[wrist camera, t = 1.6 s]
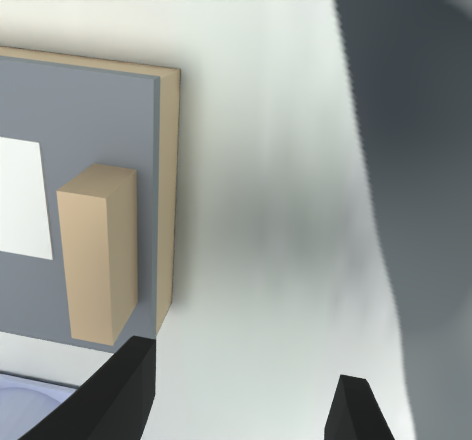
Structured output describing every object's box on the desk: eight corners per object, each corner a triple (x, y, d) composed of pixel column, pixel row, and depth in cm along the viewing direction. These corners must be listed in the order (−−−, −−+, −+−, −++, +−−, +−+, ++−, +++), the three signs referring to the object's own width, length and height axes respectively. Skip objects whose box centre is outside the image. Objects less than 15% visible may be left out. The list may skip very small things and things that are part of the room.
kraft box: (171, 302, 23) (153, 341, 20) (-2, 271, 24) (-41, 304, 21) (180, 69, 17) (157, 80, 15) (-46, 39, 18) (-107, 45, 16)
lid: (155, 349, 20) (129, 408, 17) (-49, 310, 21) (-107, 359, 18) (160, 76, 14) (122, 94, 11) (-120, 39, 15) (-221, 47, 12)
